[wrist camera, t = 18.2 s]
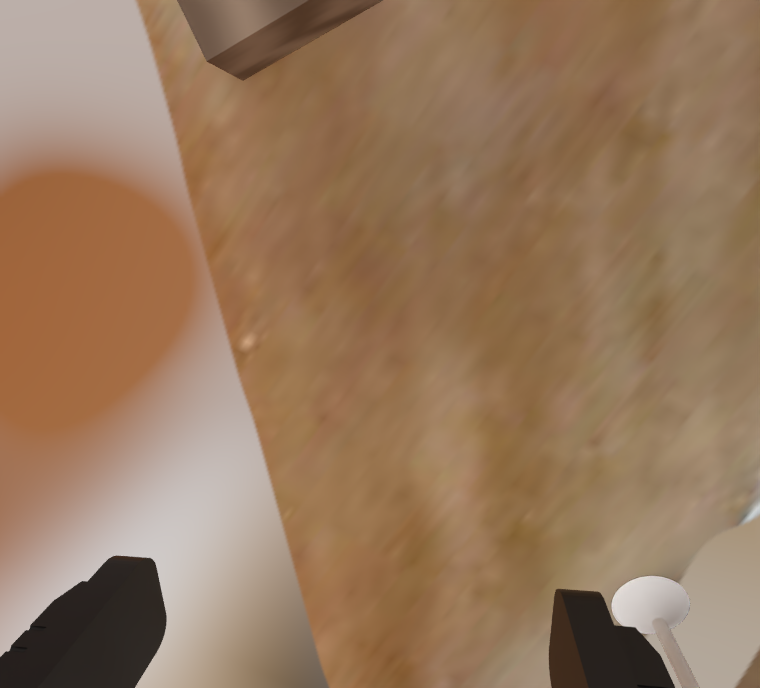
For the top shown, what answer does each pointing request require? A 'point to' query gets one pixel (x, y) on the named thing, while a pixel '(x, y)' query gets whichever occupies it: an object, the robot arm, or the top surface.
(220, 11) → the walnut block
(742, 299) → the top surface
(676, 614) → the champagne flute
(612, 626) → the robot arm
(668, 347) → the top surface
